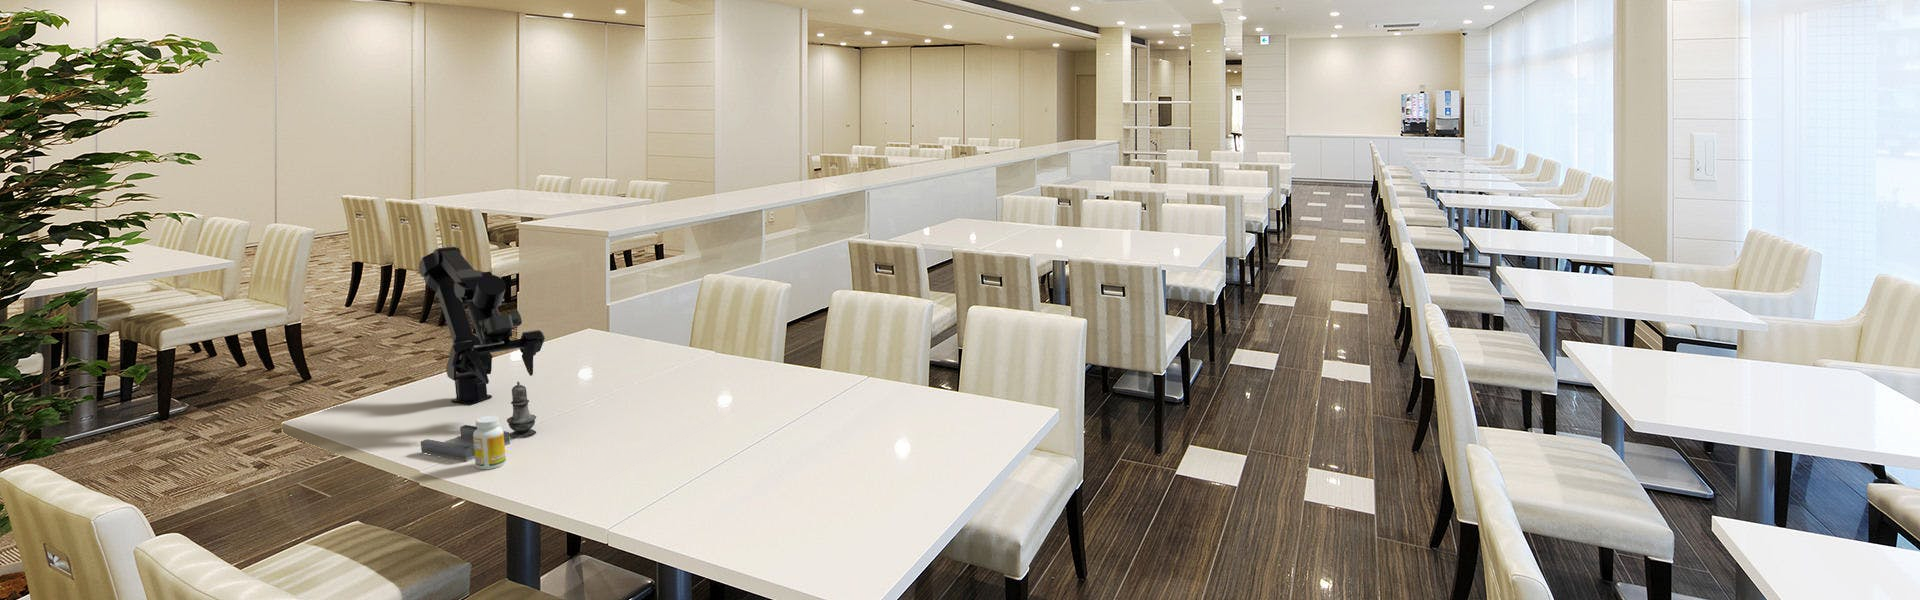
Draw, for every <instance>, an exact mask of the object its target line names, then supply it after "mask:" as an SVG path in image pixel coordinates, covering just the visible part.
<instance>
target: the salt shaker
mask: <svg viewBox="0 0 1920 600" xmlns="http://www.w3.org/2000/svg"><path fill="white" fill-rule="evenodd" d="M520 383H521V382H520V381H517V382H516V385H514V386H513V387H512V388H511V397H512V401H511V402H510V404H511V405H512V415H511V416H510V417H508V418H507V419H506V422H507V424H508V426H509V428H510V429H511V430H512V432H511V433H509V438H512V439H526V438H531V437H533V436H534V435H536V433H537V431H536V430H535V429H532V428H533V427H534V426H535V423H536V419H537V415H535V414H531V413H530V410H529V402H530V400H529V399H528V397H527V396H528V395H527V387H526V386H524V385H521V384H520Z"/></svg>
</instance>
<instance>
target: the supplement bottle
mask: <svg viewBox="0 0 1920 600" xmlns="http://www.w3.org/2000/svg"><path fill="white" fill-rule="evenodd" d="M499 424H500V420H499V416H496V415H487V416H485V415H484V416H482V417H479V418H477V419H476V420H475V426H476V427H477V428H478V429H476V430H475V431H474V433H473V440H474V452H475V458H474V461H475V467H476V468H477V469H479V470H493V469H497V468H500V467H503V466H504V465H505V464H506V462H507V460H506V459H507V457H506V447H505V446H506V445H504V433H503V431H504V430H503V429H504V428H503V427H501V426H499Z"/></svg>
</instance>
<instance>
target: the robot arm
mask: <svg viewBox="0 0 1920 600" xmlns="http://www.w3.org/2000/svg"><path fill="white" fill-rule="evenodd" d="M418 271H419V272H418V273H419V274H420V277H423V280H424V282H425V285H426V286H427V287H428V288H430V289H431V290H433V291H434V292H436V294H437V297H438V300H439V303H440V306H441V310H442V312H443V315H444V319H445V322H446V325H447V328H448V330H449V333H450V337H451V340H452V345H451V348H450V350H449V351H450V352H449V355H448V361H447V363H446V367H445V370H446V375H447V377H448V378H449V379H451V380H452V381H454V384H455V395H456V397H455V398H452V399H450V401H451V402H452V403H458V404H464V405H465V404H466V405H474V404H478V403H479V402H483V401H486V400H488V399H489V400H490V399H491V398H493V395H492V394H488V389H487V385H488V384H489V383H490V380H489V377H488V375H492V366H493V365H492V363H493V355H492V354H491V353H497V352H504V351H509V350H516V349H519V351H520V353H522V354H521V359H522V361H523V364H524V366H525V368H526V371H527V373H528V375H529V376H530V377H531V376H533V374H534V356H536V354H537V353H539V352H540V351H541V349H542V346H543V344H544V342H545V339H546V338H545V335H544V332H543V331H541V330H539V329H536V330H535V329H534V330H529V331H523V332H522V334H521V336H520V338H515V339H510V338H511V337H513V331H512V330H515V327H520V326H521V325H522V322H523V321H522V316H521V313H520V312H519V310H515V311H510V312H509V313H508V314H502V315H501V314H500V311H499V309H498V308H499V307H501V305H502V303H503V299H504V295H505V292H506V289H507V283H506V281H505V280H503V278H501V277H499V276H498V275H494V274H493V273H492V271H481V270H477V269H475V268H473V267H472V265H471V264H470V263H469V262H468V260H467V259H466V258H465V257H464V256H463V254H462V253H461V250H460V248H459V247H456V246H446V247H445V246H443V247H437V248H436V249H434V250H433V252H431V253H429V254H426V255H424V256H423V257H422V258H421V260H420V261H419V264H418ZM466 302H468V303H469V302H470V303H469V304H468V306H467V311H468V315H467V311H466V309H465V306H464V303H466ZM468 317H469V318H470V319H471V321H472V323H473V326H474V329H475V334H474V332H473V329H472V327H471V323H470V320H469V318H468Z"/></svg>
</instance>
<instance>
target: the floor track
mask: <svg viewBox="0 0 1920 600" xmlns="http://www.w3.org/2000/svg"><path fill="white" fill-rule="evenodd" d="M476 429H478V428H477V427H476V425H470V424H469V425H468V424H465V425H462V426H460V427H459V431H460V435H459V436H458V437H454V438H452V439H449V440H446V441H440V440H435V439H429V438H427V439H424V440H421V441H420V449H421V454H422V453H427V454H431V455H430V456H432V455H435V456H434V457H438V456H440V457H439V458H443V457H444V458H445V459H450V460H456V461H460V462H469V461H471V460H475V452H474V440H473V433H474V431H475V430H476ZM503 433H504V445H505V446H507V445H510V444H511V441H510V440H511V439H510V431H507V430H506V431H505V430H503ZM427 454H426V455H427Z"/></svg>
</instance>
